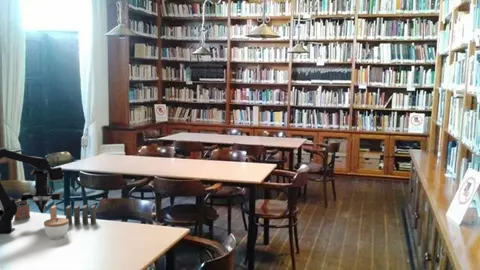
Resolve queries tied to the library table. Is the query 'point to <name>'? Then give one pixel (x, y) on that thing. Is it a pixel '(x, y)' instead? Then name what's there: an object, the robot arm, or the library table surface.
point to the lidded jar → (56, 227)
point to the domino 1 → (53, 212)
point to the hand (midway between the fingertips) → (42, 212)
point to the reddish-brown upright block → (22, 210)
